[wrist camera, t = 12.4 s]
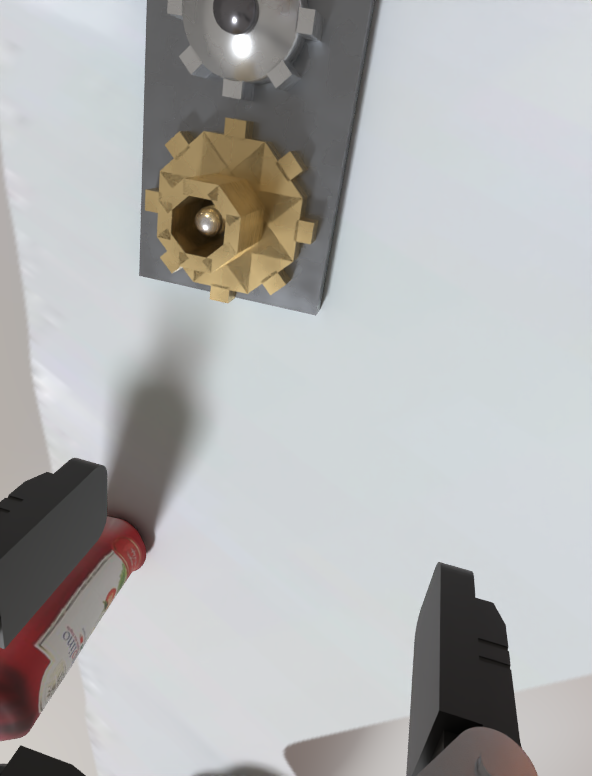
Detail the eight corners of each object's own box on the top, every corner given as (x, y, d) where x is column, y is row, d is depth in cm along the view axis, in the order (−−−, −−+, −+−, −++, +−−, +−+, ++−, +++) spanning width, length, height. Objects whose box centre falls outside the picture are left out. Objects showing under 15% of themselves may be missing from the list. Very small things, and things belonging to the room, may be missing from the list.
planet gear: (332, 135, 36) (310, 135, 30) (303, 313, 41) (280, 342, 35) (158, 105, 37) (106, 99, 32) (152, 279, 43) (106, 301, 37)
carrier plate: (443, -386, 27) (443, -575, 20) (319, 309, 42) (294, 344, 35) (171, -394, 29) (82, -568, 22) (148, 271, 44) (91, 297, 37)
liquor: (152, 573, 58) (-67, 902, 33) (88, 553, 59) (-171, 857, 34) (155, 518, 55) (-85, 837, 30) (88, 498, 56) (-199, 789, 31)
